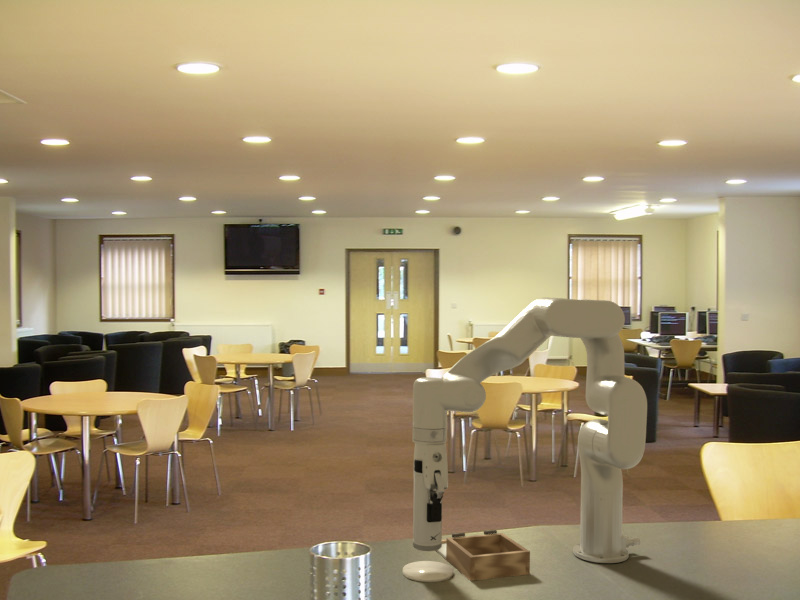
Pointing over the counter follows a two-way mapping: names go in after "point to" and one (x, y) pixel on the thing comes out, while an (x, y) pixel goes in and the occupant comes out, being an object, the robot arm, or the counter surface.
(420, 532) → the travel mug
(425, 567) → the saucer
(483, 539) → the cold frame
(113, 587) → the counter surface
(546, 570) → the counter surface
